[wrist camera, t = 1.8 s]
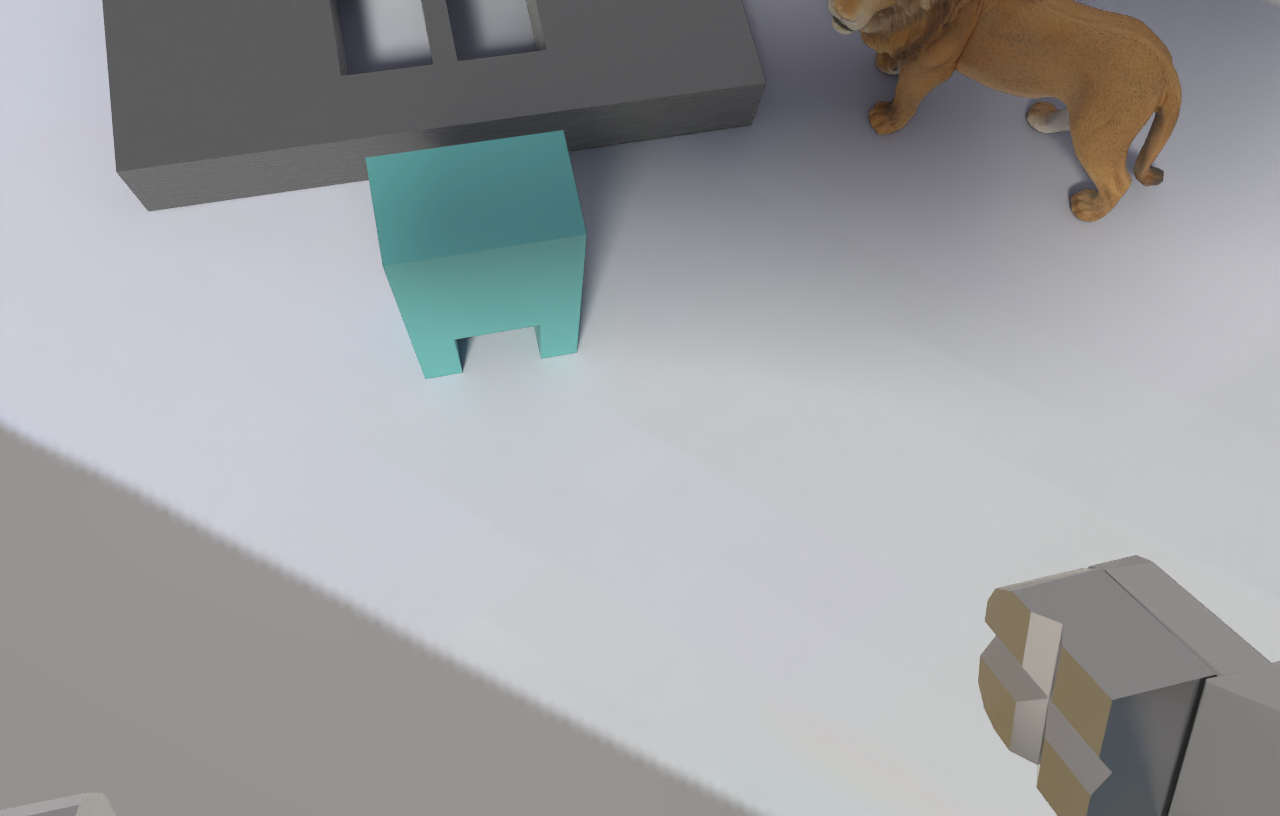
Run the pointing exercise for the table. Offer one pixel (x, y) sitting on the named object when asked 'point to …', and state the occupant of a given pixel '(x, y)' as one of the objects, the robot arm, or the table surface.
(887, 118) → the lion figurine
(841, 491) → the table surface
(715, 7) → the gray rectangular base
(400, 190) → the teal rectangular prism
